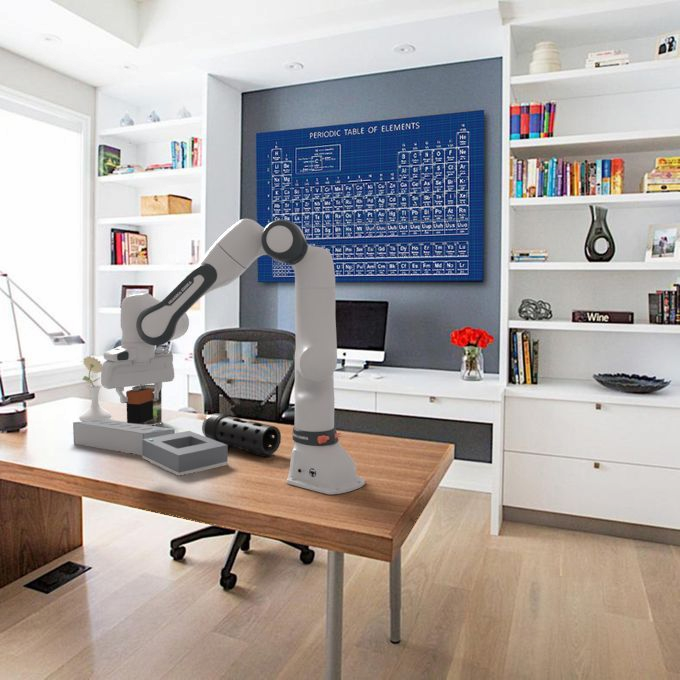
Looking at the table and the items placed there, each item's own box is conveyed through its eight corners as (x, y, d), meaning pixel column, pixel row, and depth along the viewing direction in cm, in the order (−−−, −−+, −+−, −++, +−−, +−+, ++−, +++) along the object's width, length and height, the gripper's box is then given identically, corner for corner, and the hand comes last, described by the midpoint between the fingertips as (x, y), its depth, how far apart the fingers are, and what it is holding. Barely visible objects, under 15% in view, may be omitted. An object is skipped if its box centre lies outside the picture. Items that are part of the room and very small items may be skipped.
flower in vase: (117, 421, 225) (115, 356, 223) (88, 426, 216) (87, 359, 214) (99, 416, 233) (97, 353, 231) (71, 421, 224) (69, 356, 222)
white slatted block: (174, 446, 195) (174, 423, 194) (143, 457, 181) (143, 433, 181) (107, 435, 207) (106, 413, 206) (73, 444, 194) (73, 422, 193)
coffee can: (164, 424, 221) (164, 387, 220) (136, 427, 216) (135, 389, 215) (159, 419, 230) (158, 383, 229) (131, 421, 225) (130, 385, 224)
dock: (227, 464, 174) (227, 443, 174) (178, 476, 163) (178, 454, 162) (189, 448, 190) (189, 429, 189) (142, 458, 179) (142, 438, 178)
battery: (126, 423, 163) (125, 388, 162) (141, 418, 169) (140, 384, 168) (139, 424, 161) (138, 388, 161) (154, 419, 168) (153, 384, 167)
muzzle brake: (260, 461, 178) (260, 428, 177) (200, 445, 195) (199, 414, 194) (281, 454, 186) (281, 422, 185) (221, 439, 203) (221, 410, 202)
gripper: (167, 348, 173) (168, 394, 174) (97, 353, 159) (99, 404, 160) (177, 349, 168) (178, 397, 170) (107, 355, 154) (109, 407, 156)
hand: (139, 400), depth 165 cm, fingers closed on battery, 8 cm apart
